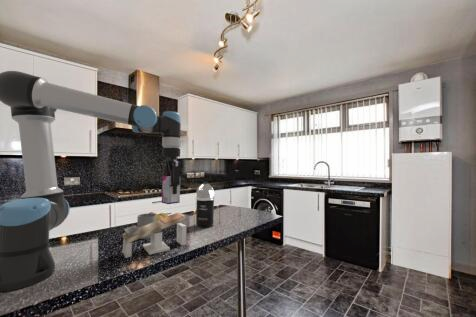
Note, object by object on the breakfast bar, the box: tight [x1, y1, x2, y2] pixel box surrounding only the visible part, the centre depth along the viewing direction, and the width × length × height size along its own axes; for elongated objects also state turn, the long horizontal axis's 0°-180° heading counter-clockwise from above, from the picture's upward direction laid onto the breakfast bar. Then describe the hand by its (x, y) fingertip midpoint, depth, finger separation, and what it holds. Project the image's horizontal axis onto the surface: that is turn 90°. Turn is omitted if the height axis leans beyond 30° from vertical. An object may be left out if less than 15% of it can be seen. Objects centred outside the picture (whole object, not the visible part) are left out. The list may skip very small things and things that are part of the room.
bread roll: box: [149, 211, 169, 221], centre depth 125 cm, size 13×10×8 cm
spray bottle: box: [195, 181, 215, 228], centre depth 127 cm, size 10×10×25 cm
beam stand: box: [122, 222, 187, 259], centre depth 92 cm, size 24×10×8 cm, turn 127°
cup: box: [136, 212, 157, 240], centre depth 107 cm, size 8×8×10 cm
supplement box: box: [161, 175, 181, 205], centre depth 96 cm, size 6×6×12 cm
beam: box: [122, 212, 187, 244], centre depth 92 cm, size 24×9×4 cm, turn 127°
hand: (170, 200), depth 95 cm, fingers closed on supplement box, 6 cm apart
